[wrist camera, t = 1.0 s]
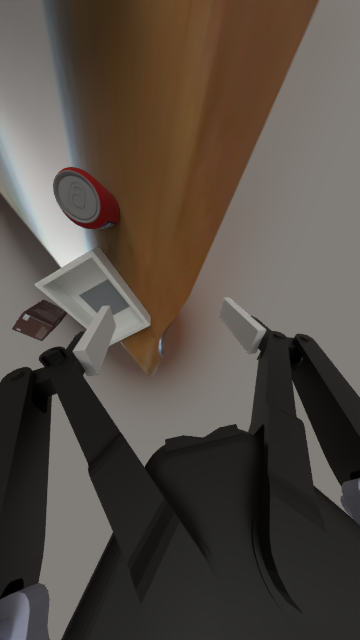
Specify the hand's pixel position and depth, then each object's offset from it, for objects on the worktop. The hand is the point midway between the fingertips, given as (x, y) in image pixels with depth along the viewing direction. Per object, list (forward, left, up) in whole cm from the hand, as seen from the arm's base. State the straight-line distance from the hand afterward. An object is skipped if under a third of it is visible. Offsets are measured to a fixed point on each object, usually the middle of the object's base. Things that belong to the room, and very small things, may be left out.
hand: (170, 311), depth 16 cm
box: (-3, -33, -24) cm, 41 cm away
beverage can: (-15, -5, -24) cm, 29 cm away
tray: (+1, -18, -24) cm, 30 cm away
